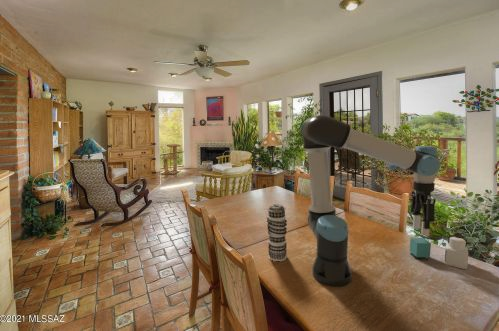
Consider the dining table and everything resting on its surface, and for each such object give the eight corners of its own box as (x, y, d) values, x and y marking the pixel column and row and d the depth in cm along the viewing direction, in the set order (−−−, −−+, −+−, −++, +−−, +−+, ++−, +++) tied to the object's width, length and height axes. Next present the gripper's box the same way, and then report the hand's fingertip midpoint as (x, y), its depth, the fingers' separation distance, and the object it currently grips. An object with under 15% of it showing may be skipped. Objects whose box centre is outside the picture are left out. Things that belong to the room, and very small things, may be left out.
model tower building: (263, 257, 114) (262, 206, 111) (275, 250, 121) (274, 201, 118) (279, 264, 108) (278, 210, 105) (291, 256, 115) (290, 205, 111)
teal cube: (416, 257, 108) (417, 243, 107) (409, 250, 114) (410, 237, 113) (429, 257, 107) (430, 243, 106) (422, 251, 113) (423, 237, 112)
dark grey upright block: (415, 259, 109) (416, 244, 108) (409, 253, 113) (410, 239, 112) (427, 259, 108) (429, 244, 107) (421, 253, 113) (422, 239, 112)
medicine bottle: (444, 257, 109) (447, 232, 108) (466, 262, 105) (468, 236, 103) (444, 264, 104) (446, 238, 102) (466, 270, 99) (469, 242, 98)
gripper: (448, 186, 96) (443, 241, 99) (420, 177, 115) (417, 223, 118) (427, 186, 97) (423, 241, 100) (403, 177, 116) (401, 223, 119)
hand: (420, 231), depth 109 cm, fingers open, 6 cm apart
